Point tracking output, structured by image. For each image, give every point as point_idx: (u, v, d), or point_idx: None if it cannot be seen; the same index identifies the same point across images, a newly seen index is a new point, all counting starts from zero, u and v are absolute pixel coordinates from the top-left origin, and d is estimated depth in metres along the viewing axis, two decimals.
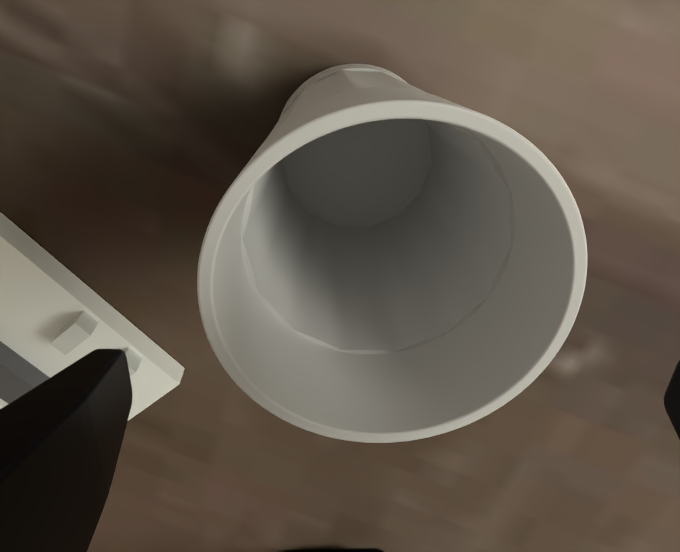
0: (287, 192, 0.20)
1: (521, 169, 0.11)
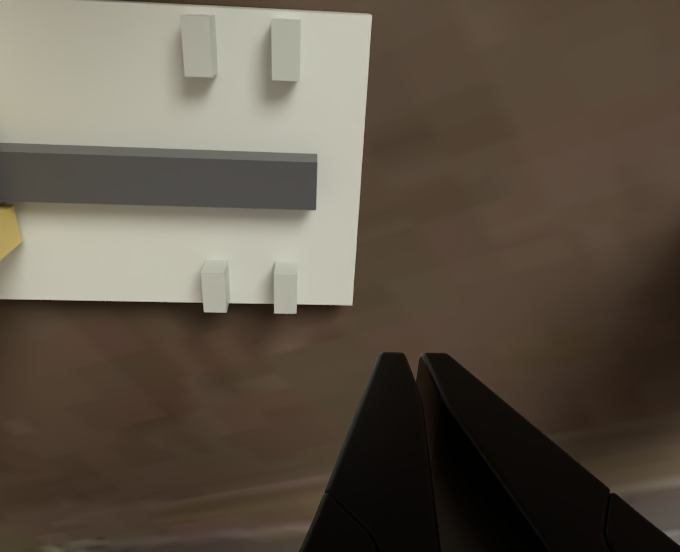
0: None
1: None
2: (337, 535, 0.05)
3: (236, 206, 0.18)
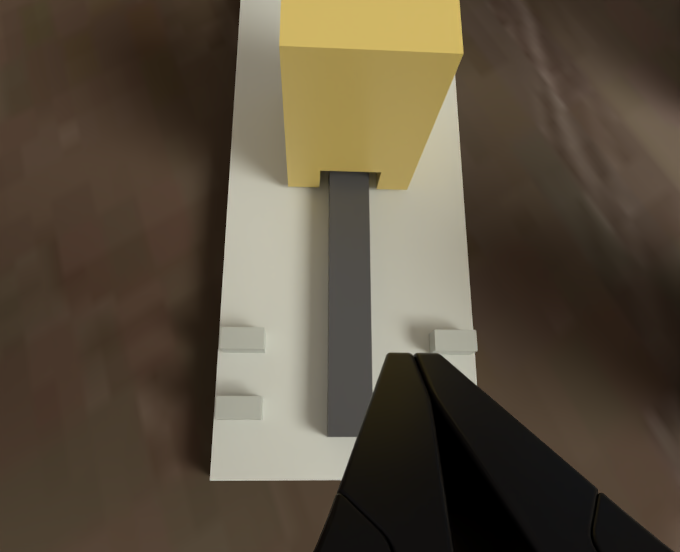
0: None
1: None
2: (351, 535, 0.05)
3: (330, 363, 0.20)
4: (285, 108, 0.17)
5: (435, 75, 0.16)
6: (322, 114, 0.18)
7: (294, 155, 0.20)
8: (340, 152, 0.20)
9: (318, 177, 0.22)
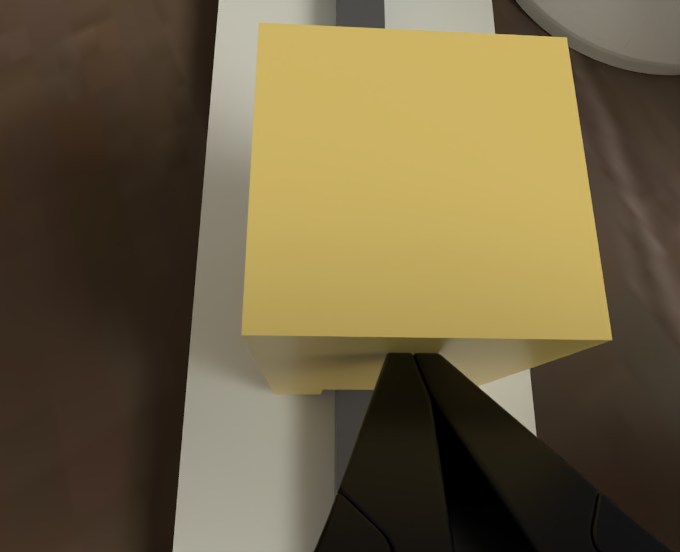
0: None
1: None
2: (351, 535, 0.05)
3: None
4: (262, 366, 0.10)
5: (543, 351, 0.08)
6: (328, 368, 0.10)
7: (281, 384, 0.13)
8: (355, 383, 0.12)
9: (319, 391, 0.14)
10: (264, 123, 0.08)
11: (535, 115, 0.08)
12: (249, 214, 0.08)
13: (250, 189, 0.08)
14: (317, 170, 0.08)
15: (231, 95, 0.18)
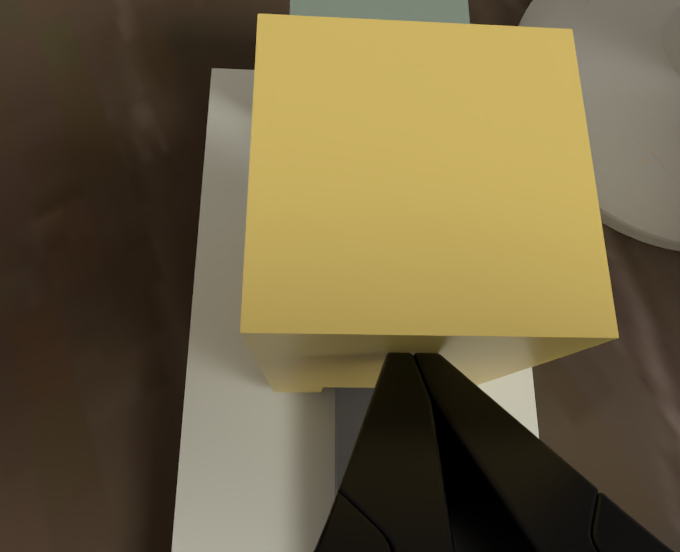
0: None
1: None
2: (351, 535, 0.05)
3: None
4: (262, 364, 0.10)
5: (547, 349, 0.08)
6: (328, 366, 0.10)
7: (281, 382, 0.13)
8: (355, 381, 0.12)
9: (320, 389, 0.14)
10: (263, 116, 0.08)
11: (540, 108, 0.08)
12: (248, 209, 0.07)
13: (249, 183, 0.08)
14: (317, 164, 0.08)
15: (215, 310, 0.16)
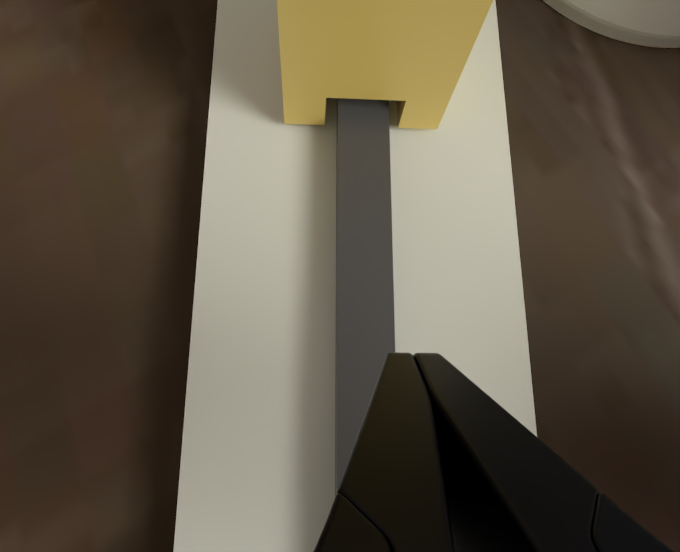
0: None
1: None
2: (351, 535, 0.05)
3: None
4: None
5: None
6: None
7: (292, 72, 0.15)
8: (353, 67, 0.15)
9: (323, 109, 0.17)
10: None
11: None
12: None
13: None
14: None
15: (232, 65, 0.18)
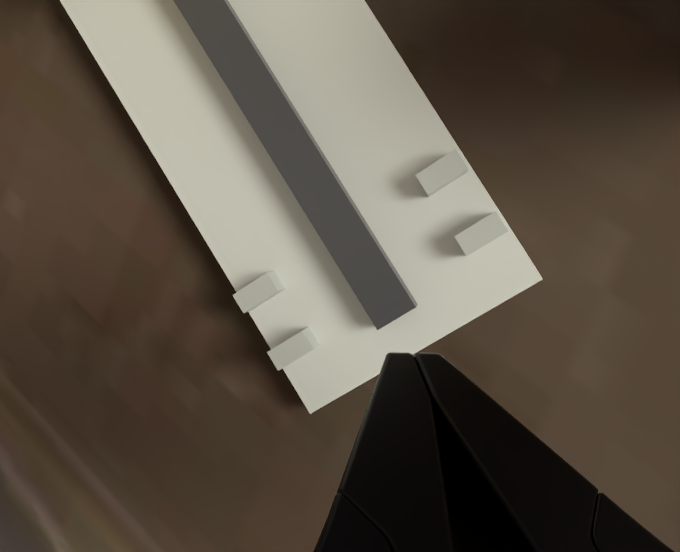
0: None
1: None
2: (351, 535, 0.05)
3: (340, 268, 0.19)
4: None
5: None
6: None
7: None
8: None
9: None
10: None
11: None
12: None
13: None
14: None
15: None
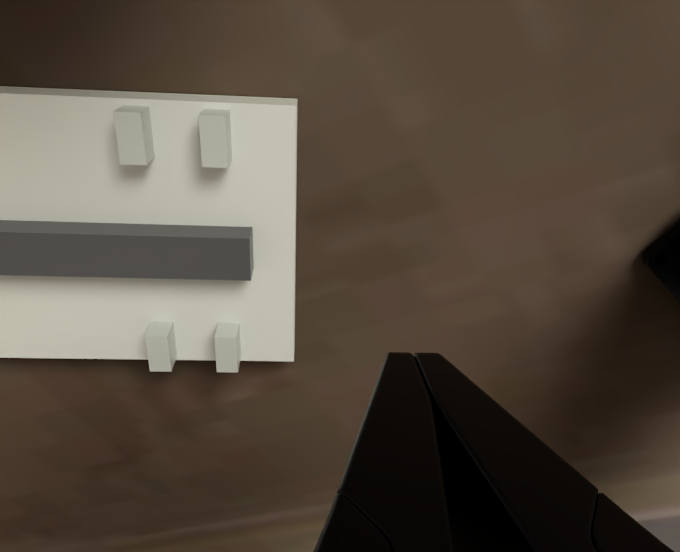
0: None
1: None
2: (351, 535, 0.05)
3: (175, 277, 0.19)
4: None
5: None
6: None
7: None
8: None
9: None
10: None
11: None
12: None
13: None
14: None
15: None
